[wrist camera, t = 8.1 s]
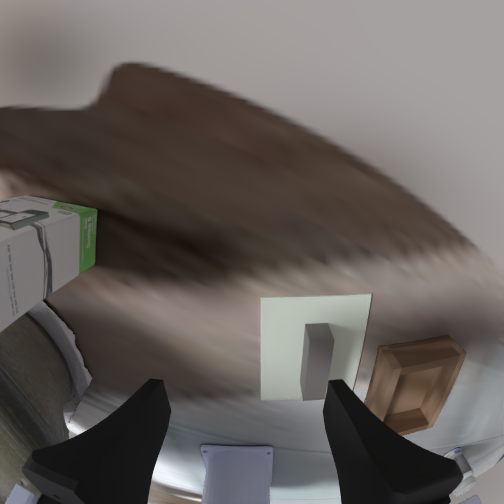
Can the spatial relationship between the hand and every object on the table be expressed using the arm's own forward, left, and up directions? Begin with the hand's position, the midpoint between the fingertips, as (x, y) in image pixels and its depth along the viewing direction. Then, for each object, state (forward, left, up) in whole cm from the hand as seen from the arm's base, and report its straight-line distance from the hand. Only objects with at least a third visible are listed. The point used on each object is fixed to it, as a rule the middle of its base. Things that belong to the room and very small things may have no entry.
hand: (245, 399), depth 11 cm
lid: (-5, -5, -11) cm, 13 cm away
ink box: (+6, +16, -11) cm, 20 cm away
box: (-10, -15, -10) cm, 21 cm away
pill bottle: (-32, -32, -11) cm, 46 cm away
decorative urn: (-8, +26, -11) cm, 29 cm away
